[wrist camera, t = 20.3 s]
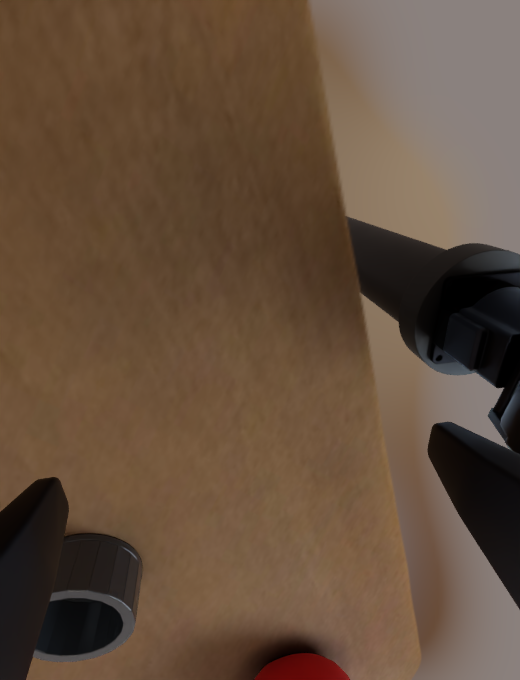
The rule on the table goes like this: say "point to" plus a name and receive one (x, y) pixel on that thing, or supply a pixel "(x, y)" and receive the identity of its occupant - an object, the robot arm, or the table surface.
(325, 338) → the table surface
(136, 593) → the cup
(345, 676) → the tomato
